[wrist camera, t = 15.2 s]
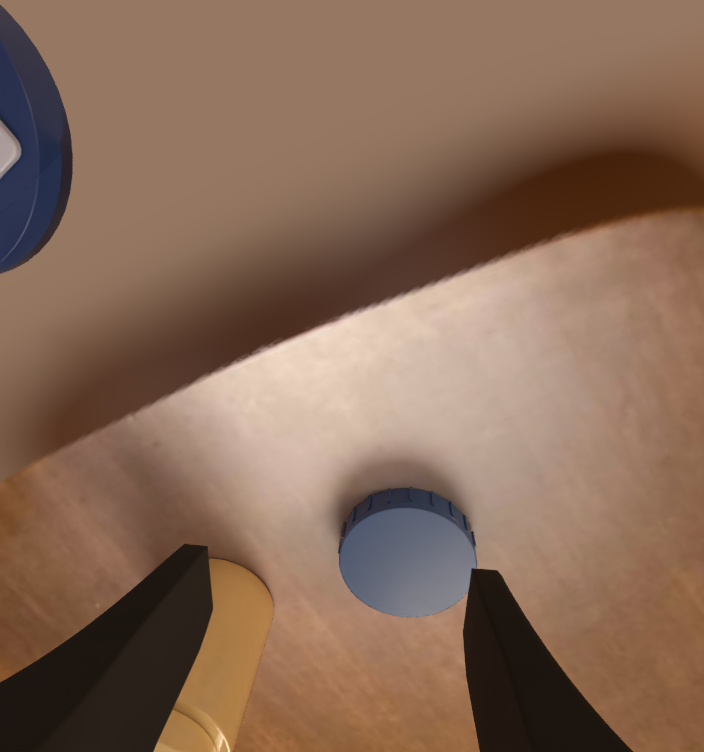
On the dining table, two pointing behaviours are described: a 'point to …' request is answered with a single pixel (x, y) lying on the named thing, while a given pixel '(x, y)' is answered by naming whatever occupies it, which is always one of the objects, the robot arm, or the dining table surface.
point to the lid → (407, 553)
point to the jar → (222, 665)
